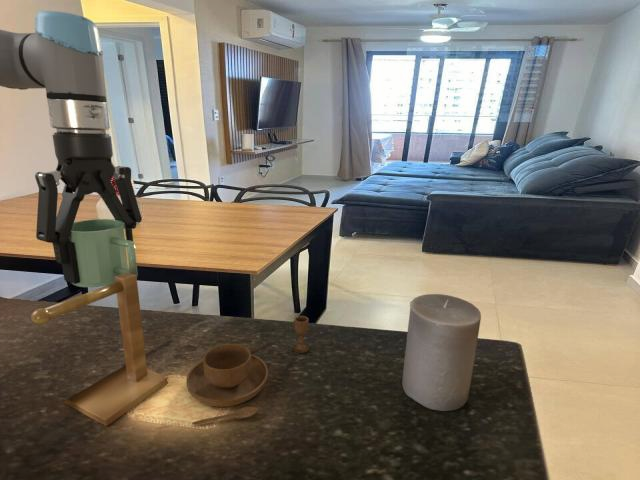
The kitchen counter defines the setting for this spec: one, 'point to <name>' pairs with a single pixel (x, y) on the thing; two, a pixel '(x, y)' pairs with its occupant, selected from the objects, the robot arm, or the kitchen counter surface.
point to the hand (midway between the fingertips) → (100, 272)
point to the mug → (102, 251)
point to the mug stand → (134, 378)
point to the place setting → (234, 375)
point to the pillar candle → (440, 351)
